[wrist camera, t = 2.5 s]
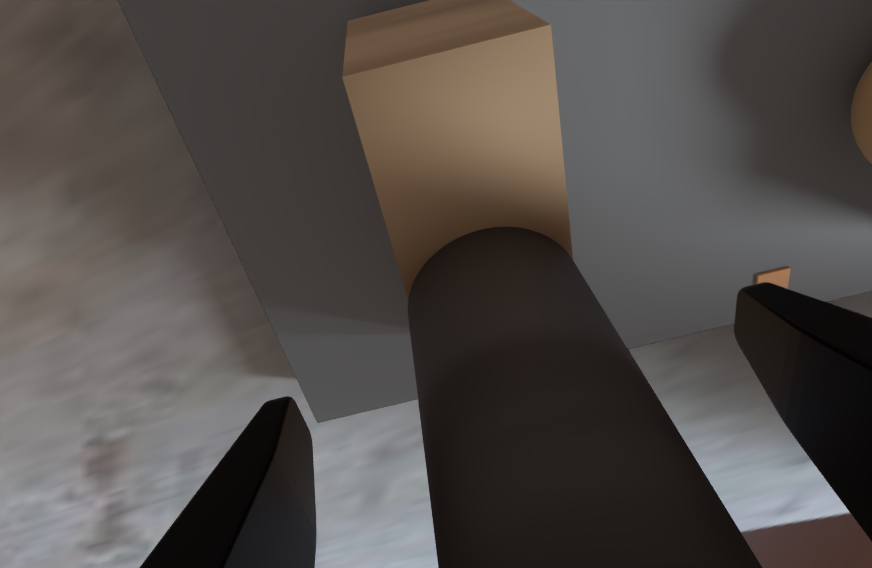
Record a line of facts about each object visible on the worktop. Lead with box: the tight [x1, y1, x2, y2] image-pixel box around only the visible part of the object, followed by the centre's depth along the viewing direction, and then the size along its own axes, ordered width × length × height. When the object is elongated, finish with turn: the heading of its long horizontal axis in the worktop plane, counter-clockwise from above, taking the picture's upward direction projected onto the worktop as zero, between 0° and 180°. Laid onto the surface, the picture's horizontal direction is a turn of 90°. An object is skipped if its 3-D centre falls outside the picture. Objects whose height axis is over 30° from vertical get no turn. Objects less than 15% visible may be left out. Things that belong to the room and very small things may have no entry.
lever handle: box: [342, 0, 762, 568], centre depth 10 cm, size 9×3×11 cm, turn 12°
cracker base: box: [118, 0, 872, 423], centre depth 13 cm, size 14×24×8 cm, turn 102°
